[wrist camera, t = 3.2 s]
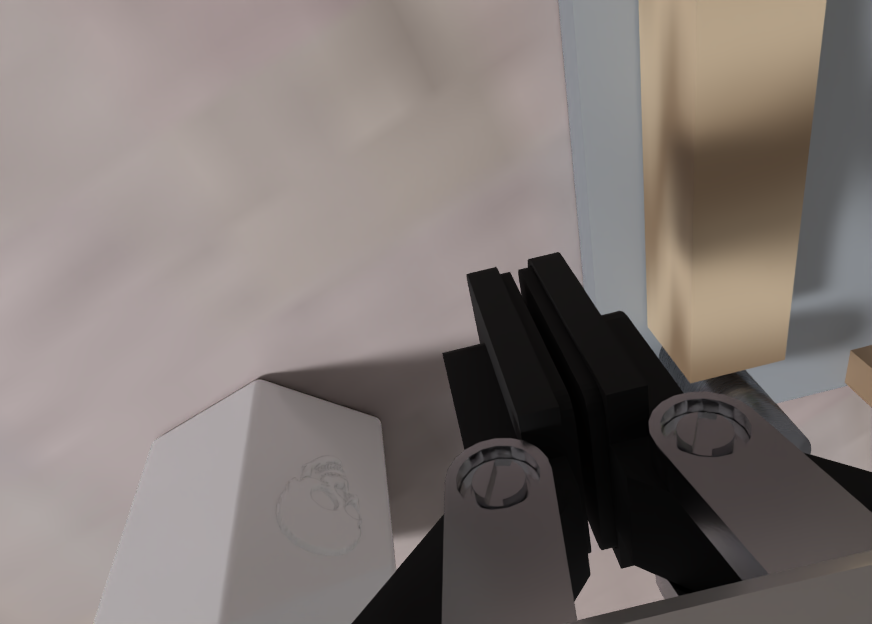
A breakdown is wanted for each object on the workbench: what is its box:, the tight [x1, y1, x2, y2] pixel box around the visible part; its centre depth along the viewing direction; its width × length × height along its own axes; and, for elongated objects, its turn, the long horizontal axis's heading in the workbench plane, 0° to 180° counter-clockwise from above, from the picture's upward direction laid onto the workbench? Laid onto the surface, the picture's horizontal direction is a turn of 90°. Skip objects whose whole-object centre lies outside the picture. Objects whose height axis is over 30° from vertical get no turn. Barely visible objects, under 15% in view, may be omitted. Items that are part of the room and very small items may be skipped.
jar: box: [93, 379, 396, 624], centre depth 19 cm, size 9×8×12 cm
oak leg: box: [638, 0, 827, 383], centre depth 17 cm, size 12×3×3 cm, turn 11°
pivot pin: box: [659, 346, 811, 454], centre depth 20 cm, size 2×2×5 cm
